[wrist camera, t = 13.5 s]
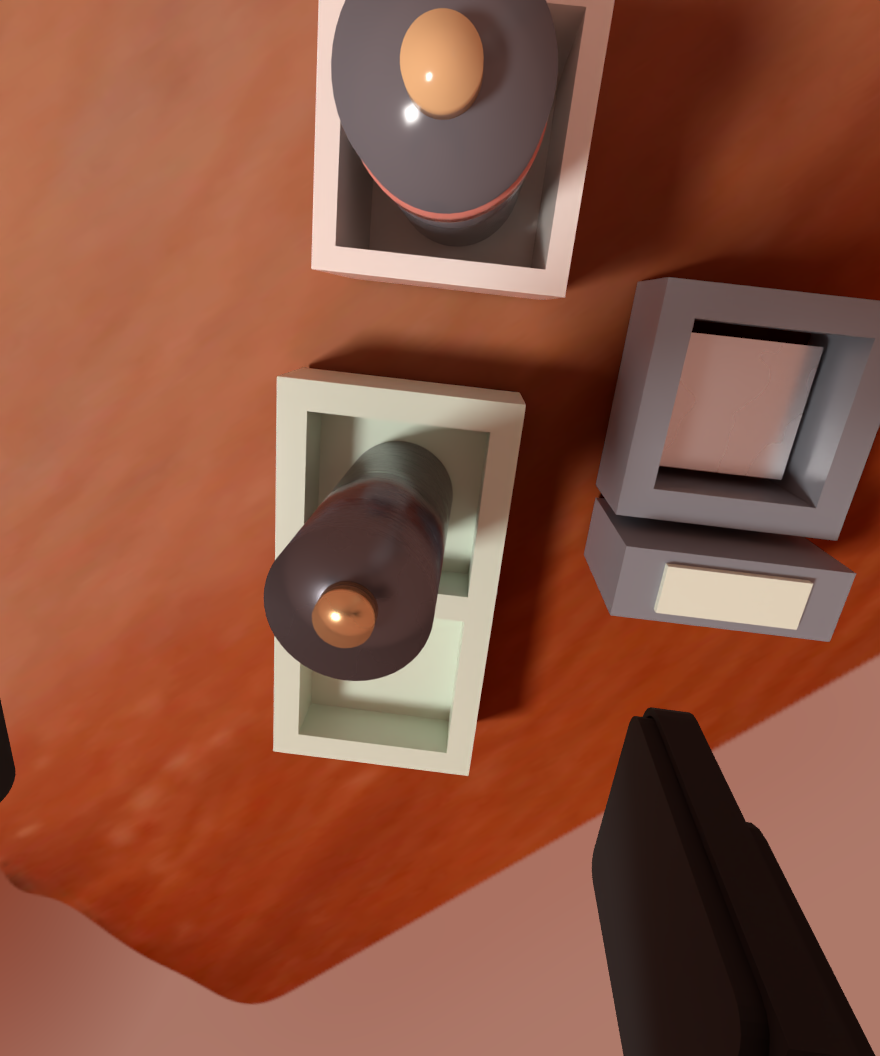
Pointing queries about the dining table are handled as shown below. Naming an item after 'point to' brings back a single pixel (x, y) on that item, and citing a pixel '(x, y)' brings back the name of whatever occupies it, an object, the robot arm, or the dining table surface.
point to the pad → (739, 405)
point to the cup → (455, 140)
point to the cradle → (731, 500)
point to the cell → (365, 567)
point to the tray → (466, 577)
